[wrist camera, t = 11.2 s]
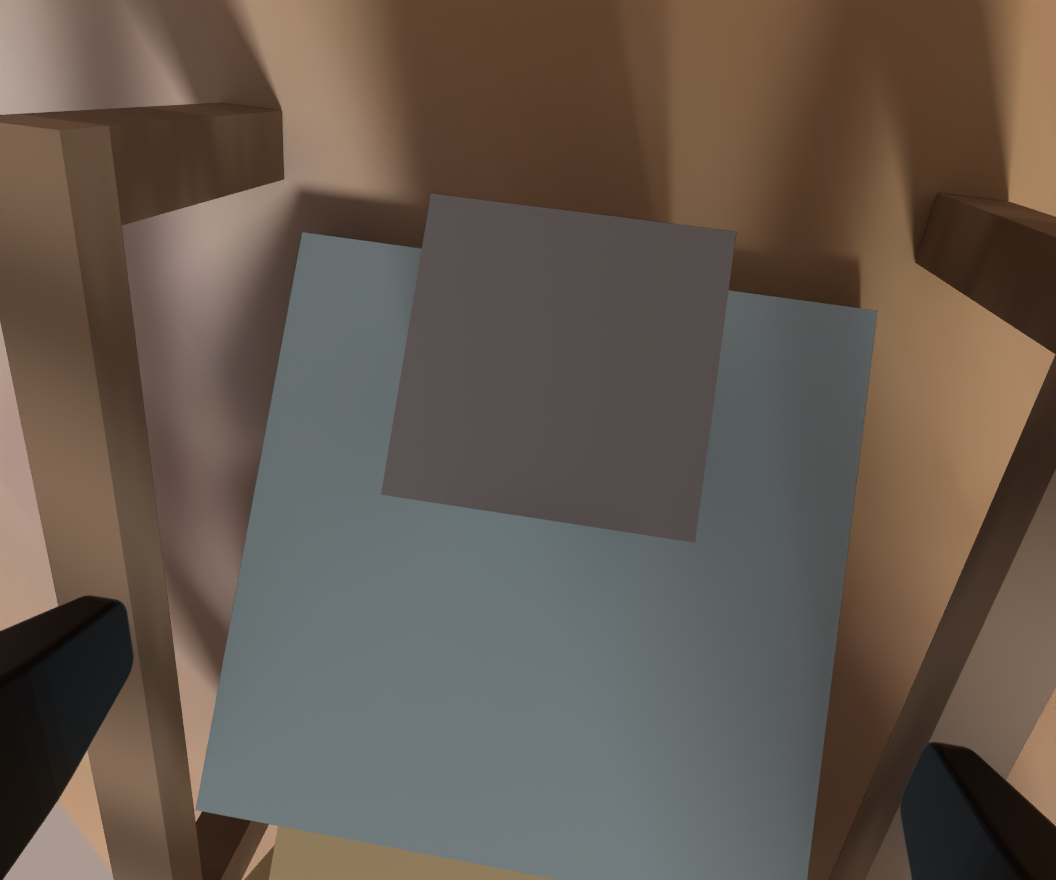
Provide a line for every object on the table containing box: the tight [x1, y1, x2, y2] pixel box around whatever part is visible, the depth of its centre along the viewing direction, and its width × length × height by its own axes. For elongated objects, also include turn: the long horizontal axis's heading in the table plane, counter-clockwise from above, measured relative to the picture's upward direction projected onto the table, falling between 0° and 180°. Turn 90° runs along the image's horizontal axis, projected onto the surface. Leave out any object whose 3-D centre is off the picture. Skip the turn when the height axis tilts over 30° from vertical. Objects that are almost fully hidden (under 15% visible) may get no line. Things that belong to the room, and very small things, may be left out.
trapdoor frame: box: [0, 103, 1056, 880], centre depth 19 cm, size 22×19×8 cm
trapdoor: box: [196, 232, 877, 880], centre depth 21 cm, size 20×14×6 cm
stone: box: [381, 194, 736, 543], centre depth 15 cm, size 5×5×6 cm
